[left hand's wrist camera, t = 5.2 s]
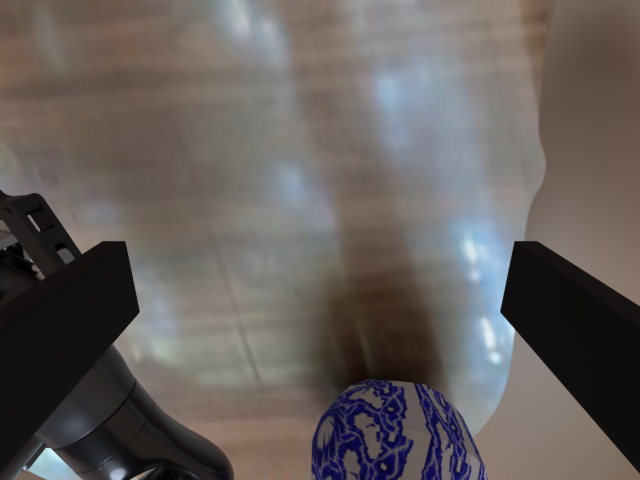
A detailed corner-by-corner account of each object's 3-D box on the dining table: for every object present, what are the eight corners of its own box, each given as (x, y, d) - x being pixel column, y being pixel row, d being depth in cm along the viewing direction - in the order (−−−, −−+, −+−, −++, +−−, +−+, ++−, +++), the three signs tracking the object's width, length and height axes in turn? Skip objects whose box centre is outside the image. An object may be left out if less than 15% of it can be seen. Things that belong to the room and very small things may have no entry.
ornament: (404, 606, 43) (257, 549, 39) (408, 433, 58) (301, 379, 53) (558, 619, 30) (365, 537, 26) (512, 395, 45) (384, 320, 41)
